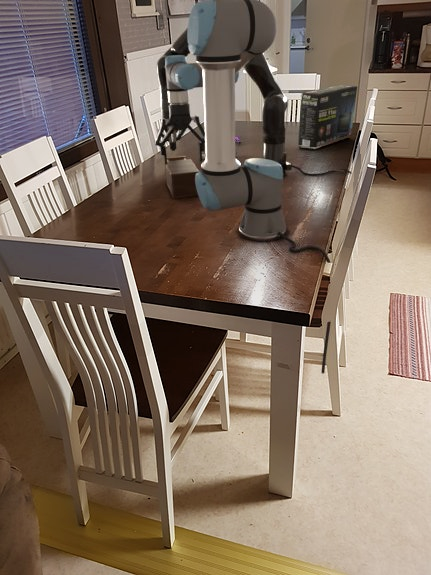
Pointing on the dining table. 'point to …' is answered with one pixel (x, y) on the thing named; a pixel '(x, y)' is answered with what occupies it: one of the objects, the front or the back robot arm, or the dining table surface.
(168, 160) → the drawer
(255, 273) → the dining table surface
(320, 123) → the router box
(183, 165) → the taupe rectangular block
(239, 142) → the handgun
